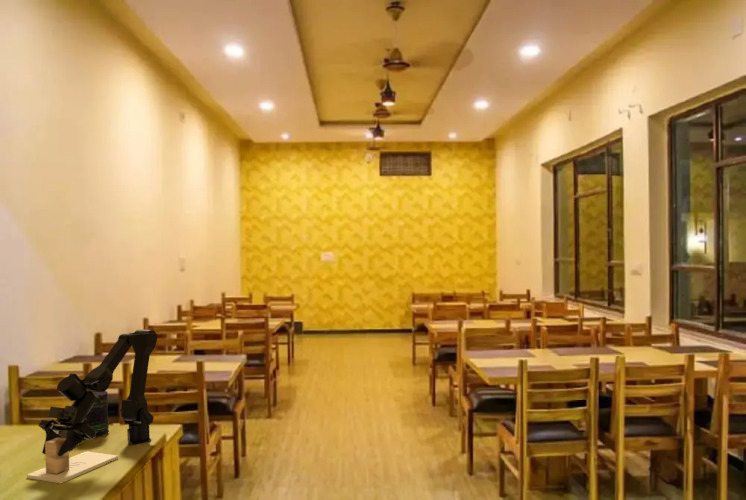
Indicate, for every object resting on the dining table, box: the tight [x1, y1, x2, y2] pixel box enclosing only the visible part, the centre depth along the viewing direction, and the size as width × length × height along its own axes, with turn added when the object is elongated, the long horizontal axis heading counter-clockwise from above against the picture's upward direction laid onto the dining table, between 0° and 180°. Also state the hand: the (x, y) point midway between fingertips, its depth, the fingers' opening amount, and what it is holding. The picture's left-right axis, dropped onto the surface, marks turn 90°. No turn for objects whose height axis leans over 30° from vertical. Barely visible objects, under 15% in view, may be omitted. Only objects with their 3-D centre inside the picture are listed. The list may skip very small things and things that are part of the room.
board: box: [26, 451, 119, 484], centre depth 193 cm, size 22×14×1 cm, turn 157°
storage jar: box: [83, 390, 110, 438], centre depth 230 cm, size 10×10×15 cm
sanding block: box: [44, 438, 70, 475], centre depth 188 cm, size 4×4×10 cm
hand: (51, 454), depth 186 cm, fingers open, 6 cm apart
